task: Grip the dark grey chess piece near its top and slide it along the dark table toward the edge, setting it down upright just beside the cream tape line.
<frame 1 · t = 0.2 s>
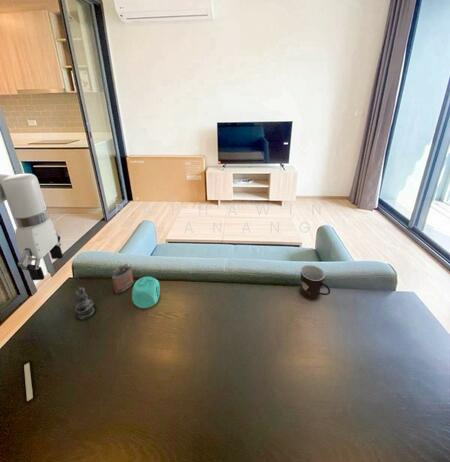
hand: (48, 268, 74), 25 cm above the table, tool pointing down, fingers open, 9 cm apart
coffee mug: (311, 296, 94), on the table
decorative dice: (147, 300, 94), on the table
dark grey chess piece: (86, 313, 88), on the table
lighter: (124, 287, 100), on the table
edge tape: (28, 380, 67), on the table
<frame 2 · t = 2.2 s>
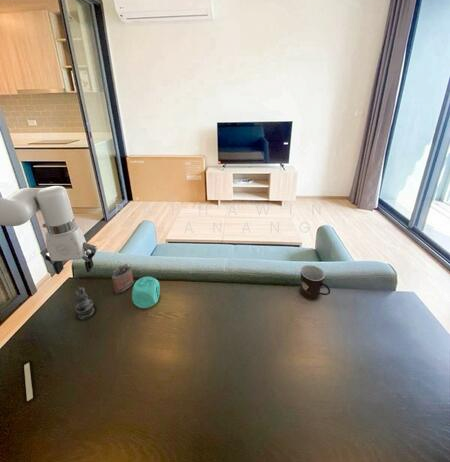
hand: (75, 270, 82), 19 cm above the table, tool pointing down, fingers open, 9 cm apart
nothing on the table moved.
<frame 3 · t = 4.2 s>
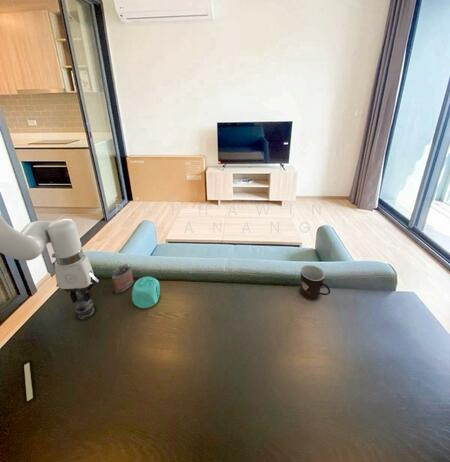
hand: (82, 298, 86), 7 cm above the table, tool pointing down, fingers closed on dark grey chess piece, 3 cm apart
dark grey chess piece: (86, 313, 88), on the table, touching gripper
everything else where it was.
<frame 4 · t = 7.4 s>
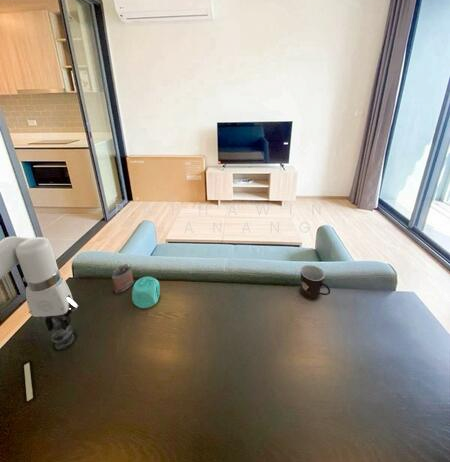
hand: (60, 326, 76), 7 cm above the table, tool pointing down, fingers closed on dark grey chess piece, 3 cm apart
dark grey chess piece: (65, 341, 78), on the table, touching gripper
everything else where it was.
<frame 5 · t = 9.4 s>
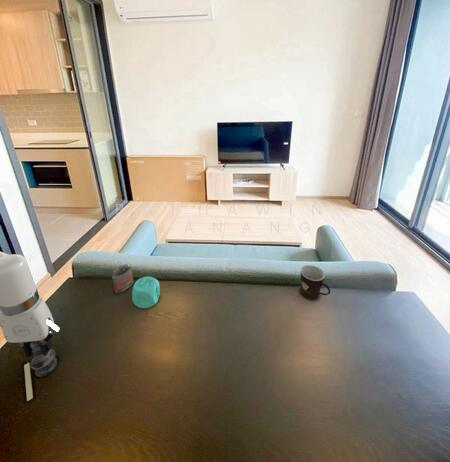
hand: (40, 350, 68), 7 cm above the table, tool pointing down, fingers closed on dark grey chess piece, 3 cm apart
dark grey chess piece: (46, 367, 71), on the table, touching gripper
everything else where it was.
when the fingers open (7 cm above the table, at t = 10.5 s): dark grey chess piece stays where it is, on the table.
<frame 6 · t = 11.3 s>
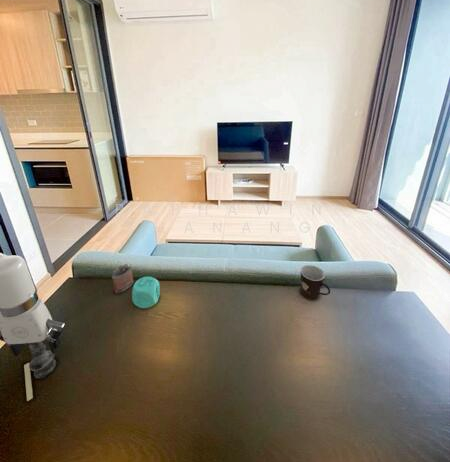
hand: (38, 349, 68), 8 cm above the table, tool pointing down, fingers open, 9 cm apart
dark grey chess piece: (45, 368, 70), on the table
everything else where it was.
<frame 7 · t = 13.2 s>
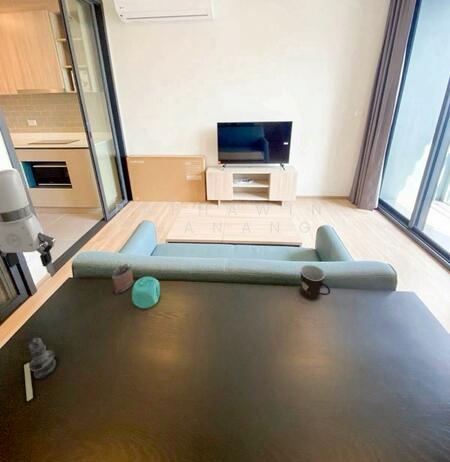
hand: (31, 264, 73), 26 cm above the table, tool pointing down, fingers open, 9 cm apart
nothing on the table moved.
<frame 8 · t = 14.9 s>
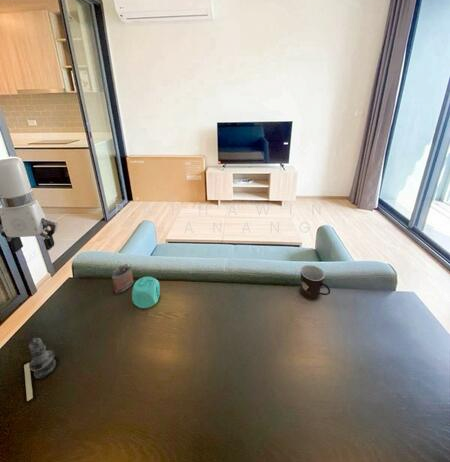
hand: (34, 248, 78), 28 cm above the table, tool pointing down, fingers open, 9 cm apart
nothing on the table moved.
at the end: dark grey chess piece inside the target area (0.5 cm from its centre), on the table; dark grey chess piece tilted 0°; the gripper is holding nothing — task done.
